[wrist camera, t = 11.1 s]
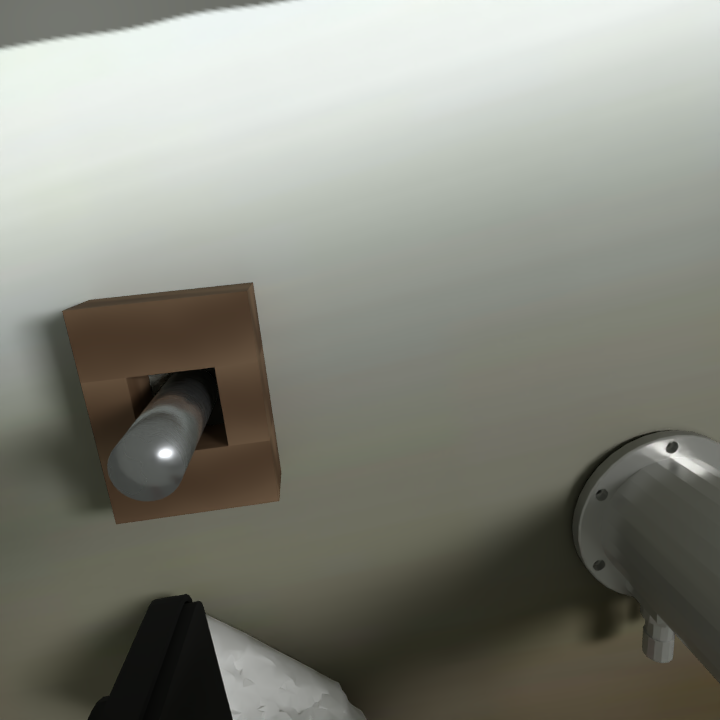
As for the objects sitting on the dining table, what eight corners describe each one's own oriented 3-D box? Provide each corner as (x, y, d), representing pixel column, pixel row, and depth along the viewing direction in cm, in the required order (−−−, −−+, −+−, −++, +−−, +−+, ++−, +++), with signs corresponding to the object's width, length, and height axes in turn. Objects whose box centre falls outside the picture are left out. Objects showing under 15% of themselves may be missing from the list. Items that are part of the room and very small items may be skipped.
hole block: (281, 472, 33) (279, 501, 30) (135, 492, 32) (116, 524, 29) (252, 282, 30) (247, 291, 27) (89, 299, 29) (62, 310, 26)
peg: (222, 411, 32) (189, 495, 22) (171, 417, 31) (116, 506, 22) (213, 363, 31) (176, 430, 21) (161, 369, 31) (99, 440, 21)
